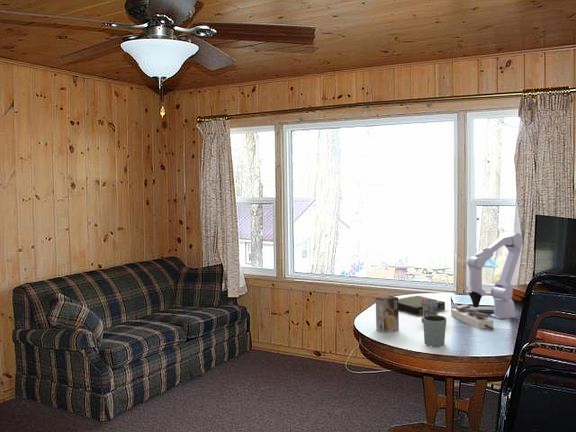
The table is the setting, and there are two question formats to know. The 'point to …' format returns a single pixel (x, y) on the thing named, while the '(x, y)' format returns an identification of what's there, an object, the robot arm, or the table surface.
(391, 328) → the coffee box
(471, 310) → the rocker
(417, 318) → the table surface
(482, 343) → the table surface
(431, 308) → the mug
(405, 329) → the table surface
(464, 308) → the rocker
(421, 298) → the network switch
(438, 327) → the grey tapered cup
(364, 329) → the table surface
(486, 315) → the rocker
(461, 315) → the power strip
